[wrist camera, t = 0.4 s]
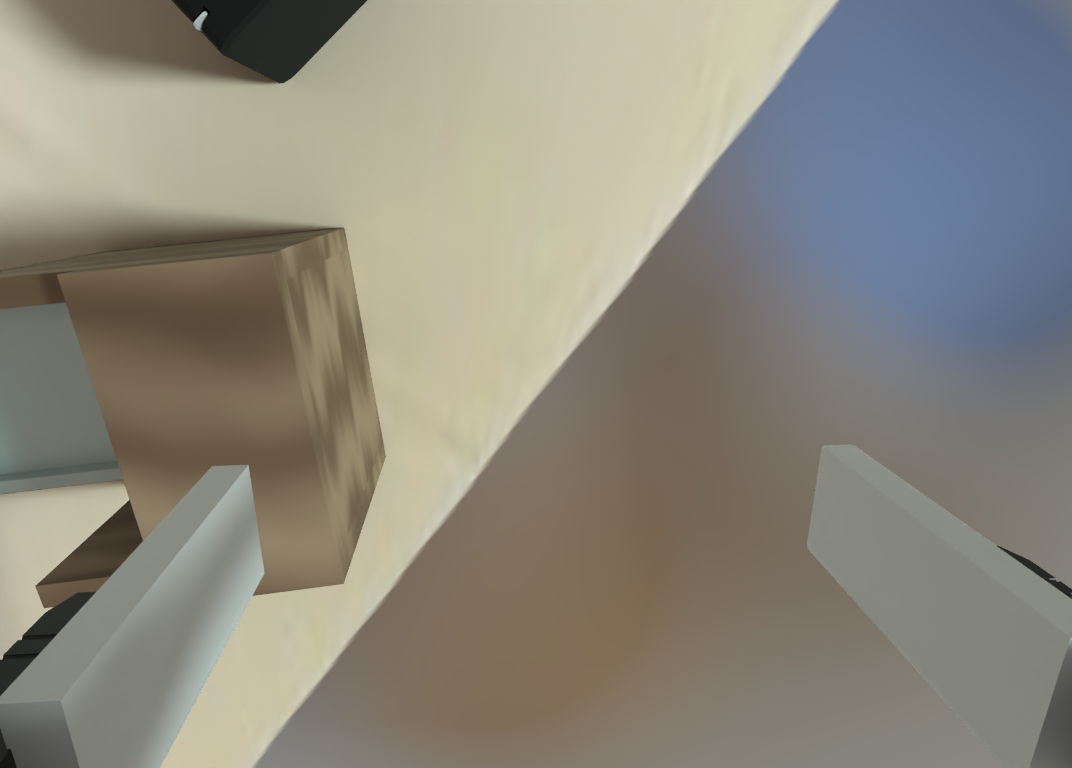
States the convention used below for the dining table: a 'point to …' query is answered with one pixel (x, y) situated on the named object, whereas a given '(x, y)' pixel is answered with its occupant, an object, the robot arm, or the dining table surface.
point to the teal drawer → (48, 405)
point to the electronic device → (269, 30)
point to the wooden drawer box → (224, 392)
